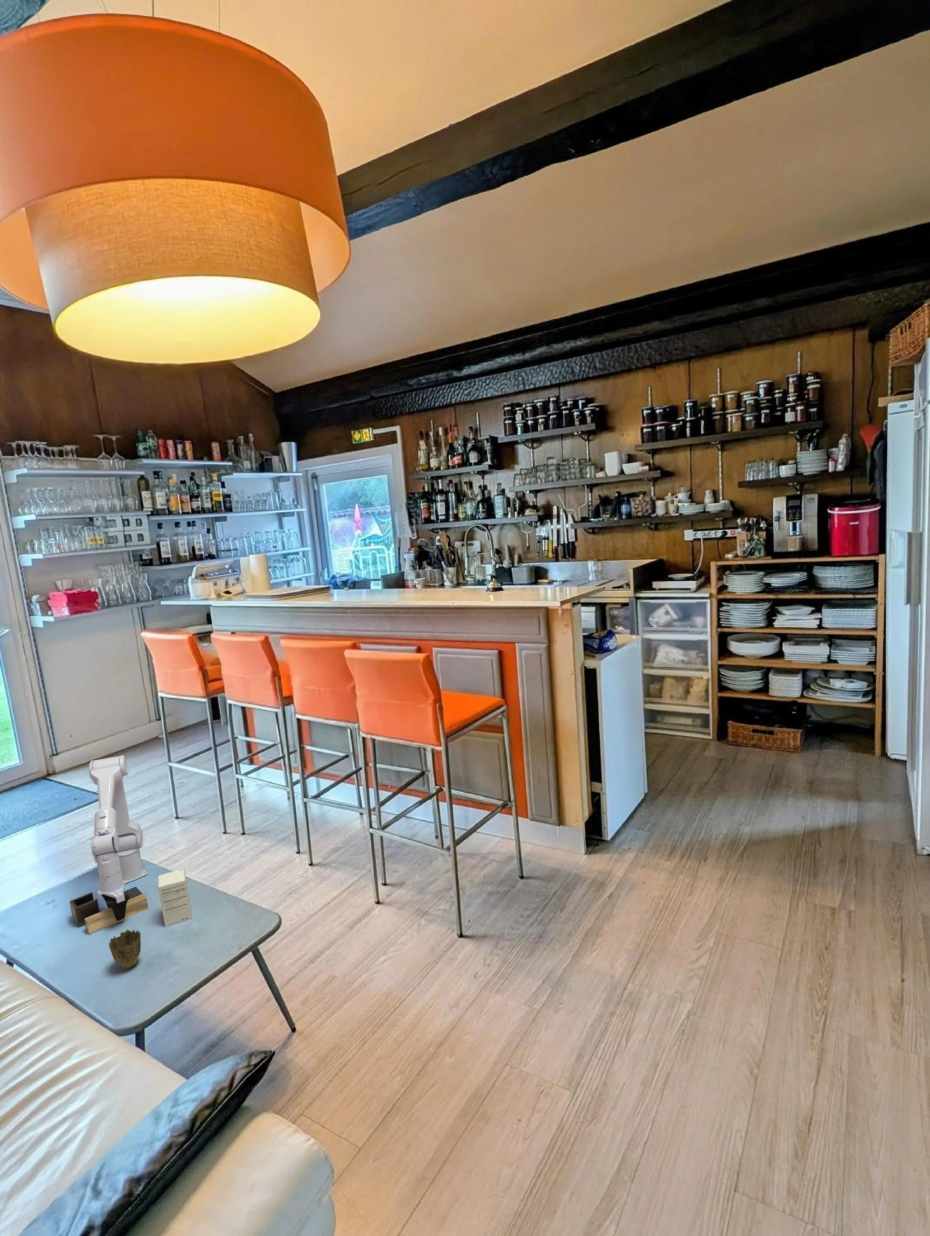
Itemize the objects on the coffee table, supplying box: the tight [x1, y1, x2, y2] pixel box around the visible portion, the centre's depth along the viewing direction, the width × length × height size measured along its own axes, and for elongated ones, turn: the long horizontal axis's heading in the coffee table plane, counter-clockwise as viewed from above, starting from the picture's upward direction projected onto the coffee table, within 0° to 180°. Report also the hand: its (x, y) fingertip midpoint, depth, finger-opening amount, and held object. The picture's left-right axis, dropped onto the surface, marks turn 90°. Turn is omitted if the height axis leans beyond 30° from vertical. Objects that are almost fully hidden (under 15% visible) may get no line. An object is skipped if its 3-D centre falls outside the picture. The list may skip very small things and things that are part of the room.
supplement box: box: [157, 868, 192, 927], centre depth 189 cm, size 7×7×13 cm
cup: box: [108, 929, 142, 970], centre depth 169 cm, size 8×7×8 cm
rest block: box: [123, 886, 143, 900], centre depth 201 cm, size 6×4×2 cm, turn 44°
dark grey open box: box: [69, 891, 101, 928], centre depth 192 cm, size 6×6×6 cm
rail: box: [85, 893, 149, 936], centre depth 191 cm, size 3×16×4 cm, turn 134°
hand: (117, 914), depth 191 cm, fingers open, 6 cm apart
